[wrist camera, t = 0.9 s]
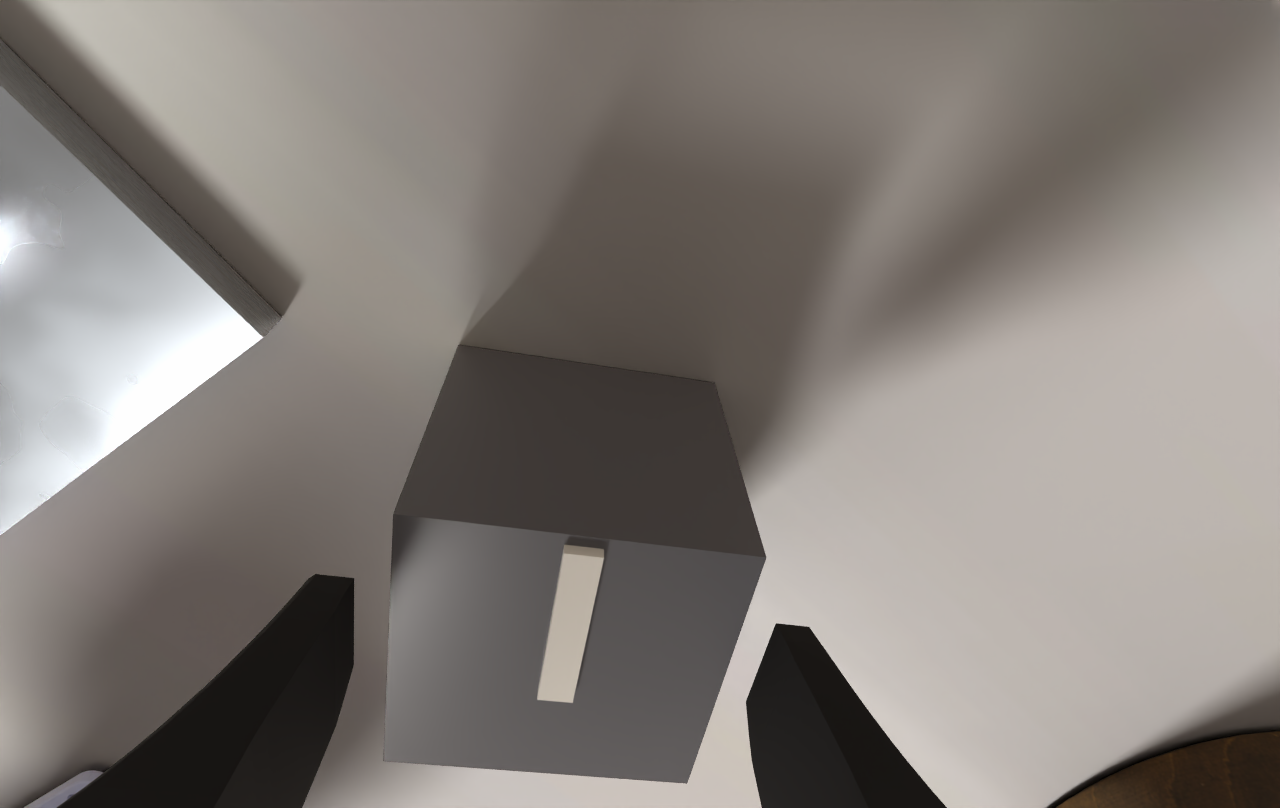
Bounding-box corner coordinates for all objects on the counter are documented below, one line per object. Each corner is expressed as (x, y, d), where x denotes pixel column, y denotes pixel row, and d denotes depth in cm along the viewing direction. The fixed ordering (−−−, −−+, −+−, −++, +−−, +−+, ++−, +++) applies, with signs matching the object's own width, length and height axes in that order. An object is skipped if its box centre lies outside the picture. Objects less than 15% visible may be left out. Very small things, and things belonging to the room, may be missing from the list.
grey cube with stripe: (663, 573, 19) (688, 793, 14) (441, 548, 18) (380, 771, 13) (714, 383, 17) (769, 566, 11) (458, 344, 16) (389, 522, 11)
